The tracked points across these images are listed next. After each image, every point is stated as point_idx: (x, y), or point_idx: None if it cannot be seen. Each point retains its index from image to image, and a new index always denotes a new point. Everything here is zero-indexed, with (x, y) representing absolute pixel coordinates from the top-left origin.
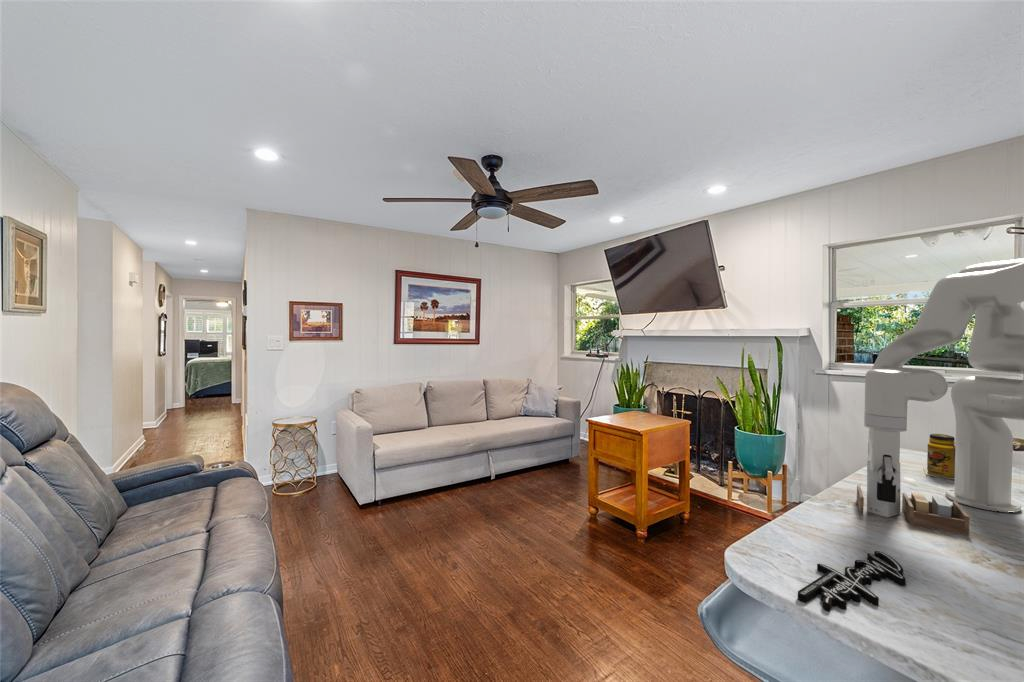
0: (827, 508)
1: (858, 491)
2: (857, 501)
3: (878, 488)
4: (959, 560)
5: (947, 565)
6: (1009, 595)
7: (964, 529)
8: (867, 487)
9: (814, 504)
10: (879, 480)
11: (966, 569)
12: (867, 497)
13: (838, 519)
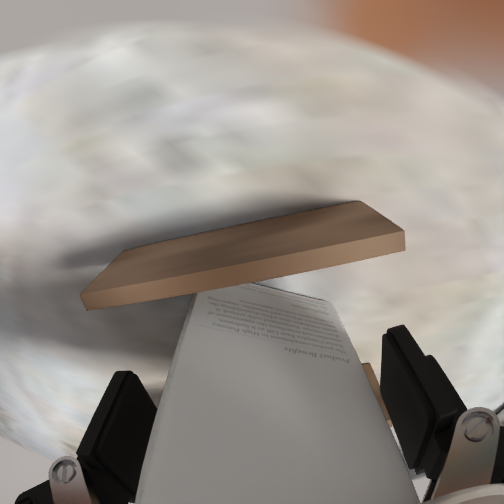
0: (83, 115)
1: (243, 260)
2: (303, 215)
3: (92, 426)
4: (50, 430)
5: (11, 408)
6: (11, 439)
7: None
8: (174, 357)
9: (95, 53)
10: (49, 474)
11: (27, 427)
12: (189, 311)
13: (5, 198)
